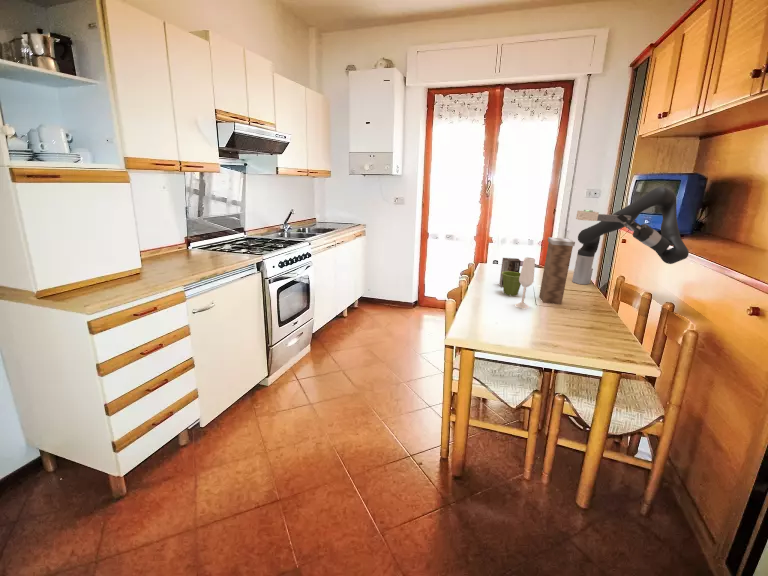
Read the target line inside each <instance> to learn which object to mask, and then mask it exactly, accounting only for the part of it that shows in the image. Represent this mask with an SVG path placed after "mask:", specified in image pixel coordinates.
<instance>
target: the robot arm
mask: <svg viewBox="0 0 768 576" xmlns="http://www.w3.org/2000/svg"><path fill="white" fill-rule="evenodd" d="M654 206H655V207H657V208H659V209H660V213H661V215H662V220H661V225H660V233H659V232H658V231H657V230H656V229H654V228H652V227H651V226H649V225H648V224H645V223H642V224H640V223H637V222H636V220H637V218H638V217H639V215H640V214H642V213H643V212H644V211H646V210H647V209H649V208H652V207H654ZM611 215H619V216H618V219H620V220H621V221H623V222H608V221H598V222H597V223H595V224H593V225H591V226H588V227H587V228H584V229H582V230H580V232H579V233H578V235H577V240H578V242H579V243H580V244H581V245H582V246H581V248H579V249H578V250H577V253H576V259H575V263H574V264H575V266H574V269H573V274H572V279H571V281H572V283H575V284H578V285H579V284H580V285H589V284H590V283H591V280H592V277H593V276H592V275H593V270H594V269H593V264H594V259H595V255H596V253H597V251H598V248H599V245H600V240H601V236H603V235H606V234H609V233H612V232H615V231H618V230H621V229H622V228H624V227H625V228H627V229H628V231H631V232H632V236H633V238H634V239H636V240H637V241H639V242H640V243H642V244H643V245H644V246H646V247H648V248H649V249H651V250H653V251H654V252H655V253H656V254H657V255H658V257H659V258H660V260H661V261H663V263H665V264H666V265H667V264H668V265H673V264H676V263H679V262H680V261H684V260H685V259H688V257H689V249H688V248H687V245H685V243H684V241H683V239H682V238H681V233H680V228H679V224H678V216H677V195H676V194H675V192H674V191H672V190H670V189H668V188H666V187H663V186H659V187H658V186H657V187H655V188H653V189H651V190H650V191H649V192H647V193H645V194H644V195H643V196H641V197H640V198H638V199H637V200H635V201H634V202H631V203H630V204H628V205H627V206H625V207H623V208H621V209H619V210H617V211H615V212H614V213H612V214H611ZM623 215H624V216H623ZM625 216H632V217H631V220H630V219H627V218H626V217H625ZM670 246H673V247H672V248H670ZM668 248H669V249H668Z"/></svg>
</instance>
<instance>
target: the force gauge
mask: <svg viewBox="0 0 768 576" xmlns="http://www.w3.org/2000/svg"><path fill="white" fill-rule="evenodd" d="M618 216H619V215H612V214H605V213H600V212H598V211H595V210H591V209H583V210H577V212H576V216H575V219H576V220H578V221H591V222H595V221H596V222H601V221H608V222H623V221H621V220H620V219H618ZM623 216H624V215H623ZM625 217H626V218H627V219H630V220H631V217H632V216H625Z"/></svg>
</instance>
